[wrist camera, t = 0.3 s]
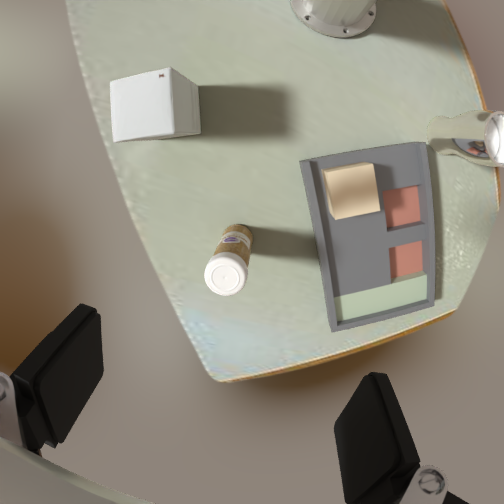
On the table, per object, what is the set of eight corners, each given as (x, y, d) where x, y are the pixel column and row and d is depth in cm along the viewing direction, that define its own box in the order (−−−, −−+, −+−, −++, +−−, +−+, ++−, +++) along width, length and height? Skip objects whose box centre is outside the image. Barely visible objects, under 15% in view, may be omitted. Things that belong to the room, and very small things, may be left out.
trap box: (299, 161, 41) (301, 162, 38) (415, 141, 38) (425, 142, 35) (328, 321, 49) (331, 332, 46) (426, 296, 47) (434, 305, 44)
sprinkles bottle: (247, 219, 44) (238, 252, 32) (257, 248, 46) (252, 291, 33) (217, 229, 45) (197, 264, 32) (227, 257, 46) (212, 301, 34)
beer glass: (419, 149, 39) (478, 157, 25) (427, 106, 36) (487, 99, 22) (454, 163, 39) (516, 178, 25) (462, 122, 36) (524, 124, 22)
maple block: (321, 169, 39) (326, 172, 35) (363, 161, 38) (373, 163, 35) (329, 212, 41) (335, 219, 37) (370, 204, 40) (380, 210, 37)
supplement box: (149, 92, 38) (108, 79, 26) (199, 85, 38) (172, 65, 26) (152, 141, 41) (111, 143, 29) (202, 135, 40) (175, 133, 28)
